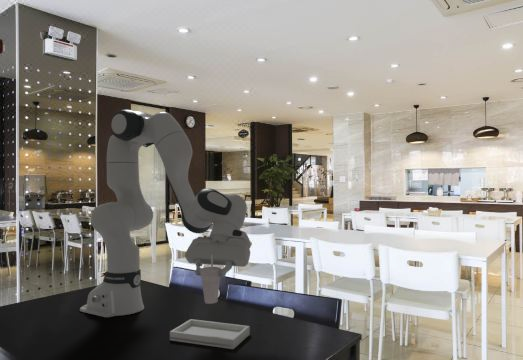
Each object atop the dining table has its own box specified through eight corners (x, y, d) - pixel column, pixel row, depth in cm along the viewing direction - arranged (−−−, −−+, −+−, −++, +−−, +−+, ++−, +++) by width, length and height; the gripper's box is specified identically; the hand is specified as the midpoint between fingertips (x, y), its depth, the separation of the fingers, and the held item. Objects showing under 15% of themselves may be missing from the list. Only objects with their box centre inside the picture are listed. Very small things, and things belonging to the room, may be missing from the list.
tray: (169, 340, 120) (169, 331, 120) (190, 327, 132) (190, 319, 132) (233, 349, 114) (233, 339, 114) (249, 334, 125) (249, 326, 125)
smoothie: (218, 305, 119) (217, 256, 119) (197, 304, 121) (195, 256, 120) (224, 298, 126) (223, 252, 125) (204, 298, 127) (203, 252, 127)
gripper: (191, 230, 133) (174, 266, 124) (250, 232, 126) (237, 271, 117) (197, 242, 137) (182, 278, 128) (255, 245, 130) (244, 283, 121)
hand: (209, 275), depth 122 cm, fingers closed on smoothie, 6 cm apart
